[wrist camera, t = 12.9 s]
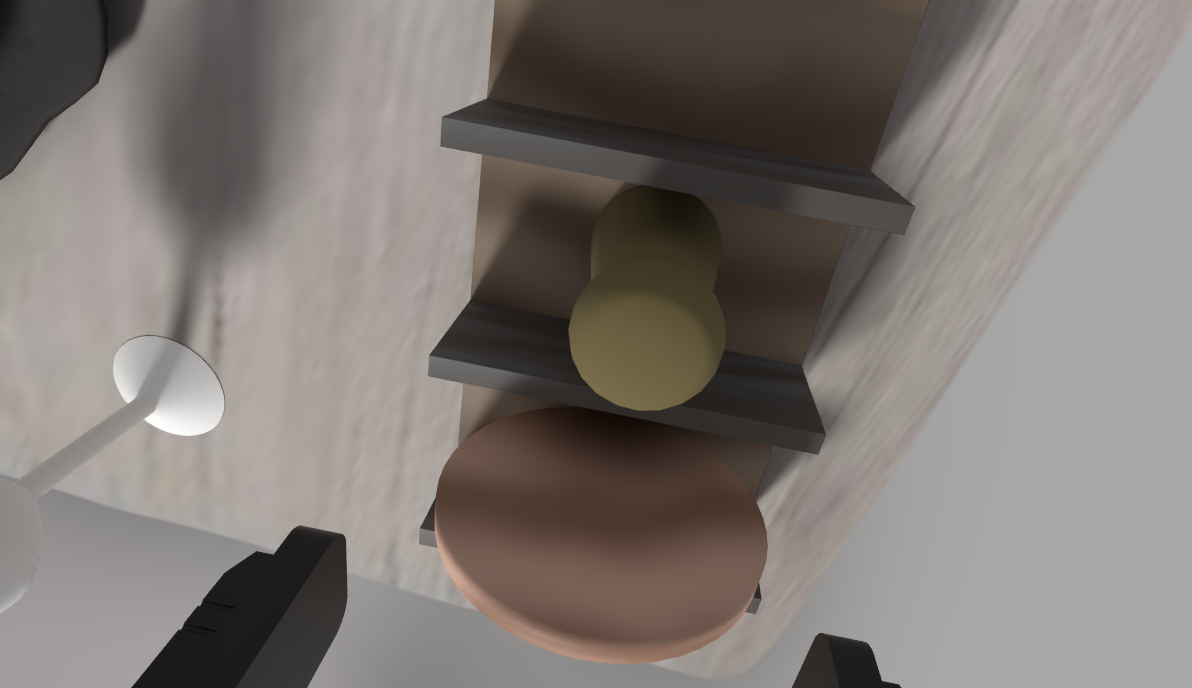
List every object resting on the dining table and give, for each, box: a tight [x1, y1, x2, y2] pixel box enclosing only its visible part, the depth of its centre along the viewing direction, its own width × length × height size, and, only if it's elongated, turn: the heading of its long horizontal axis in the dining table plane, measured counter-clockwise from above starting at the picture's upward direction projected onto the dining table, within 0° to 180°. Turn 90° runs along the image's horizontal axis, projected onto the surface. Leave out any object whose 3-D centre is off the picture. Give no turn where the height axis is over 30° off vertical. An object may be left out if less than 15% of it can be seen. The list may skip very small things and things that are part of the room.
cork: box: [568, 185, 725, 411], centre depth 25 cm, size 6×6×11 cm
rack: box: [419, 0, 929, 664], centre depth 25 cm, size 30×16×15 cm, turn 171°
